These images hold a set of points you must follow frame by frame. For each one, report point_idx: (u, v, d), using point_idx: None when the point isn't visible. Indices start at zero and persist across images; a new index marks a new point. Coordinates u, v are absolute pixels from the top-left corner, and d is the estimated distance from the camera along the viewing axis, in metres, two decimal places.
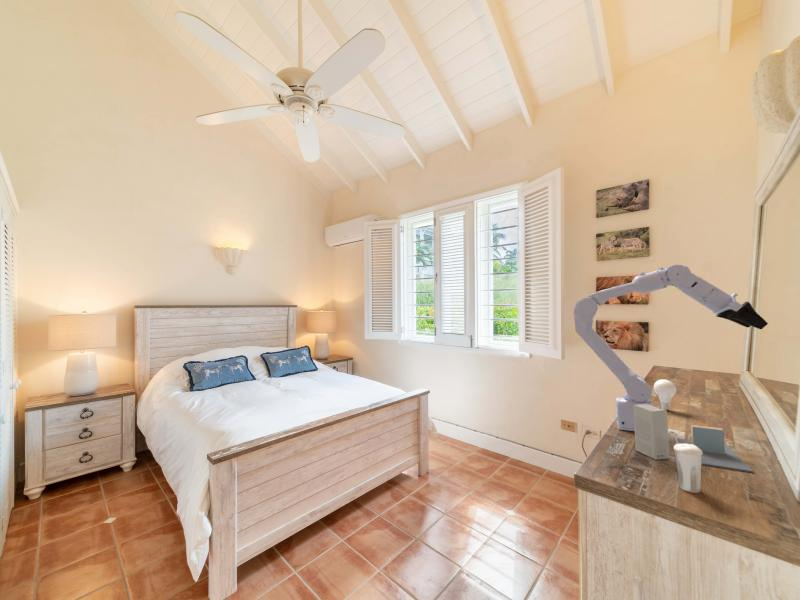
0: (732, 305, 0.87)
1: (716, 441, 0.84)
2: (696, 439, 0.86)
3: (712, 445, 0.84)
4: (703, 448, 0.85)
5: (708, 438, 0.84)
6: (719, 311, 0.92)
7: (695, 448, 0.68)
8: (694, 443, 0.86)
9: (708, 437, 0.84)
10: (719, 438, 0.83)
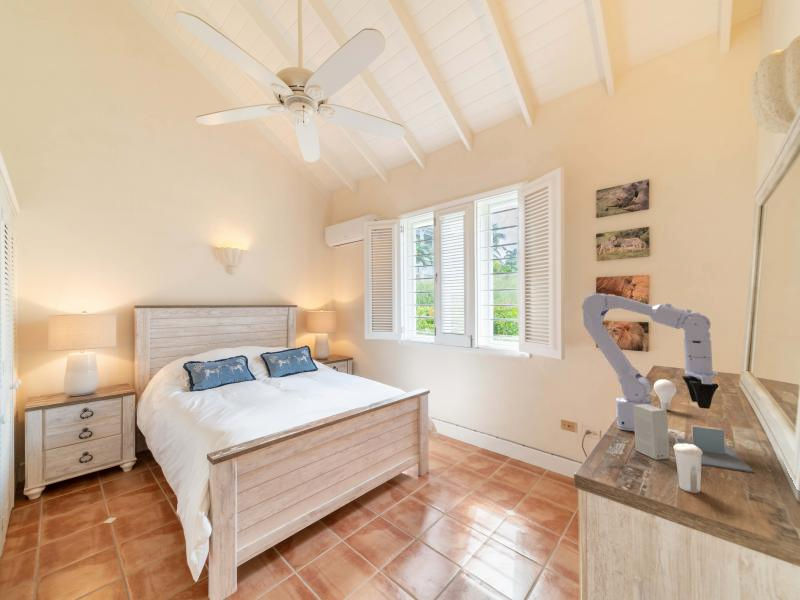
0: (705, 377, 0.87)
1: (716, 441, 0.84)
2: (696, 439, 0.86)
3: (712, 445, 0.84)
4: (703, 448, 0.85)
5: (708, 438, 0.84)
6: (690, 374, 0.92)
7: (695, 448, 0.68)
8: (694, 443, 0.86)
9: (708, 437, 0.84)
10: (719, 438, 0.83)
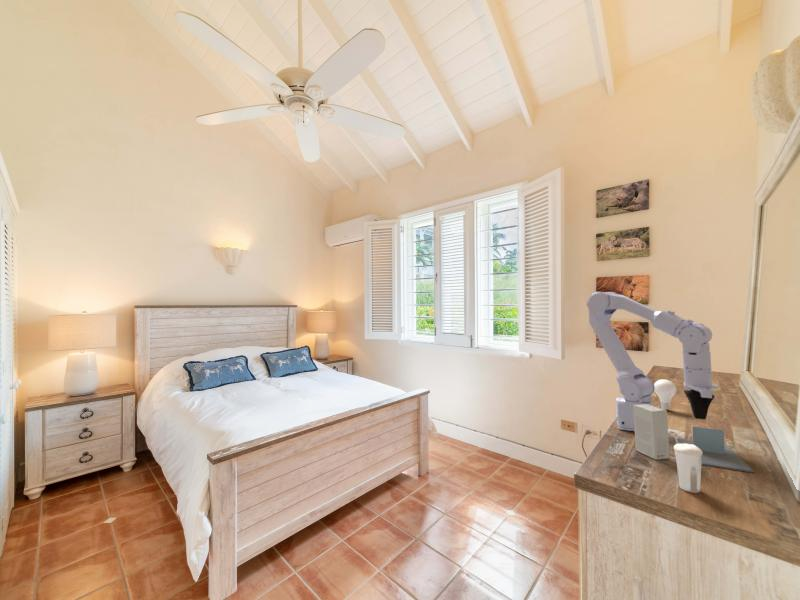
0: (705, 391, 0.85)
1: (716, 441, 0.84)
2: (696, 439, 0.86)
3: (712, 445, 0.84)
4: (703, 448, 0.85)
5: (708, 438, 0.84)
6: (689, 386, 0.90)
7: (695, 448, 0.68)
8: (694, 443, 0.86)
9: (708, 437, 0.84)
10: (719, 438, 0.83)
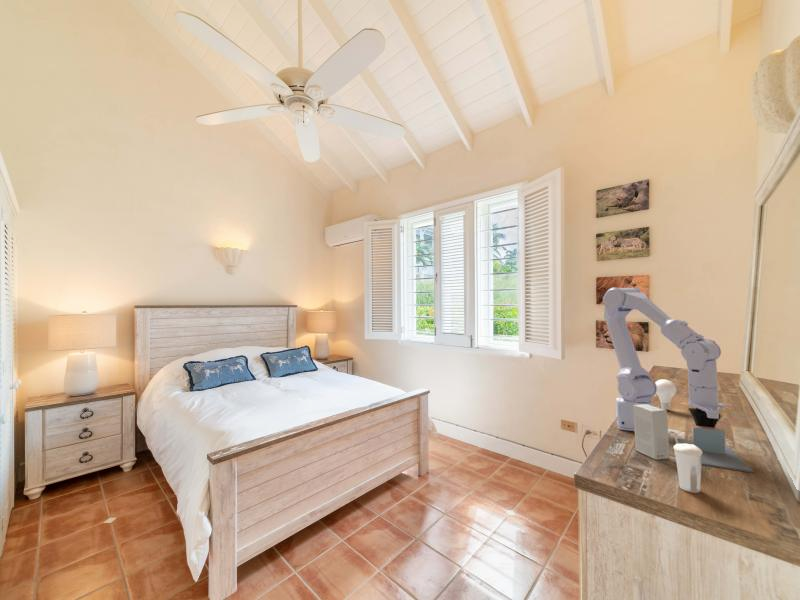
0: (711, 411, 0.81)
1: (717, 441, 0.83)
2: (696, 440, 0.85)
3: (712, 446, 0.84)
4: (703, 448, 0.85)
5: (709, 439, 0.84)
6: (694, 405, 0.86)
7: (695, 448, 0.68)
8: (694, 443, 0.86)
9: (709, 438, 0.84)
10: (720, 439, 0.83)
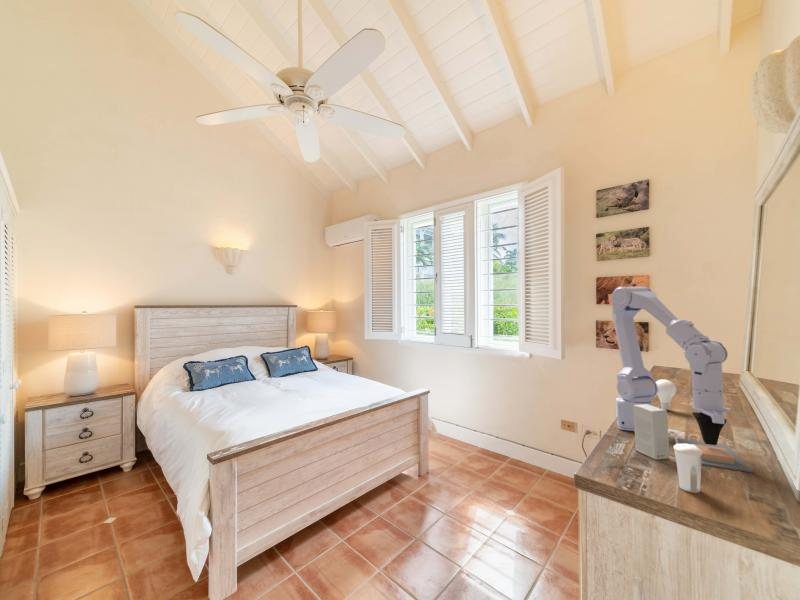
0: (716, 416, 0.77)
1: None
2: None
3: None
4: None
5: None
6: (698, 409, 0.83)
7: (695, 448, 0.68)
8: None
9: None
10: None
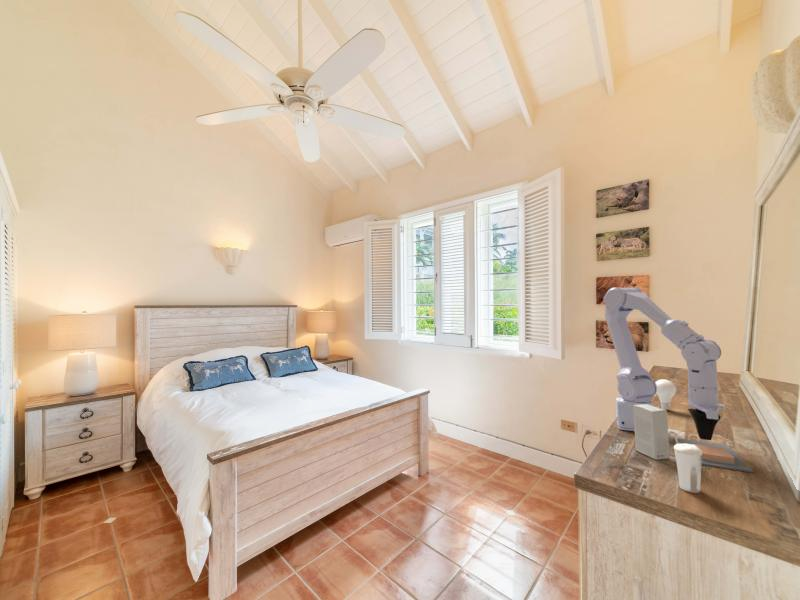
0: (711, 412, 0.81)
1: None
2: None
3: None
4: None
5: None
6: (694, 406, 0.86)
7: (695, 448, 0.68)
8: None
9: None
10: None
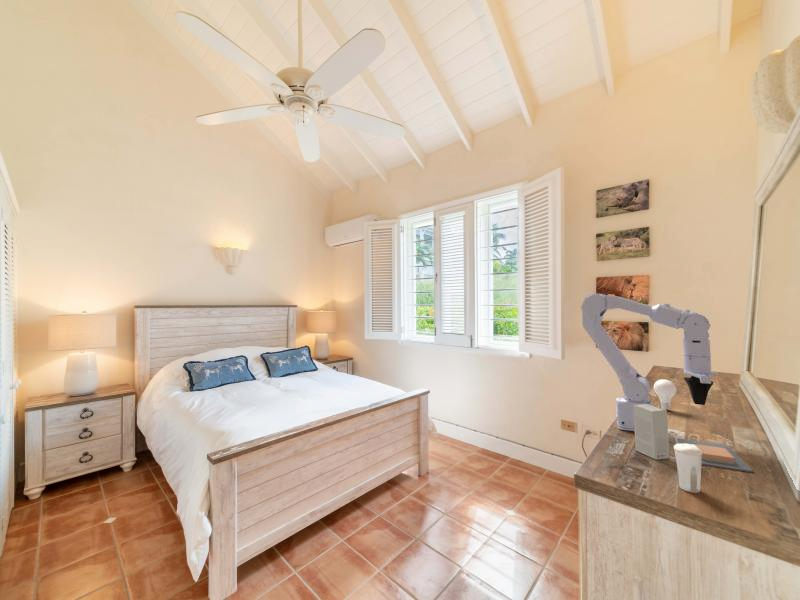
0: (704, 377, 0.88)
1: None
2: None
3: None
4: None
5: None
6: (689, 373, 0.93)
7: (695, 448, 0.68)
8: None
9: None
10: None
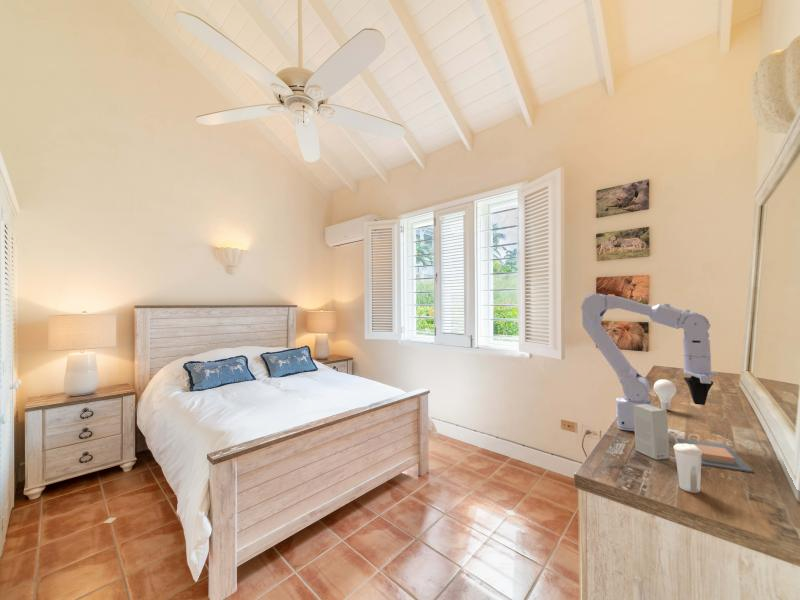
0: (704, 377, 0.88)
1: None
2: None
3: None
4: None
5: None
6: (689, 373, 0.93)
7: (695, 448, 0.68)
8: None
9: None
10: None
